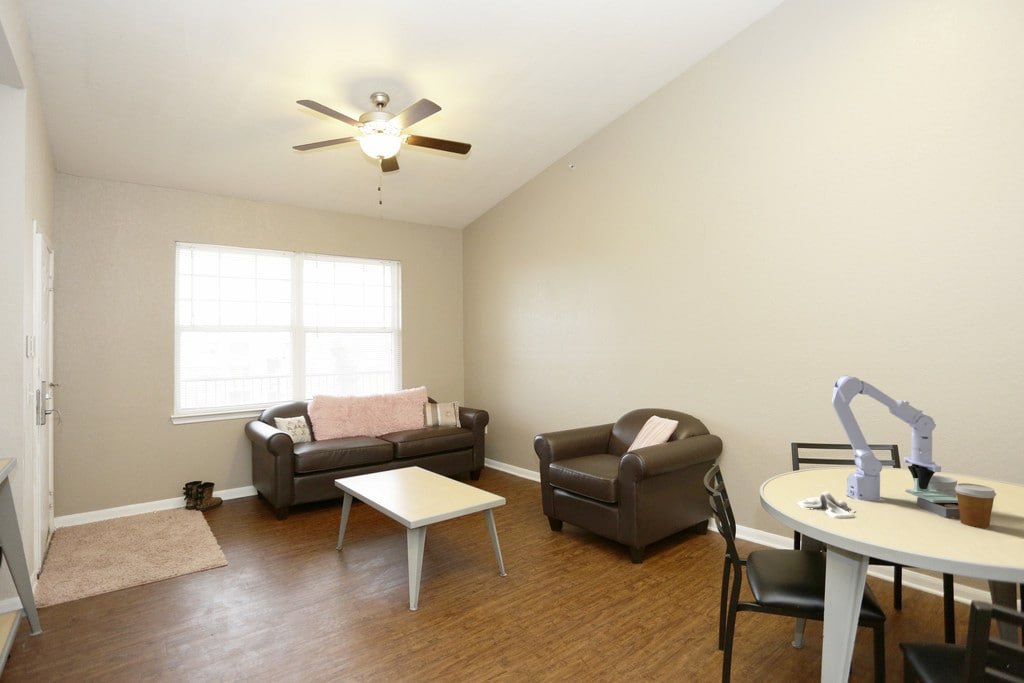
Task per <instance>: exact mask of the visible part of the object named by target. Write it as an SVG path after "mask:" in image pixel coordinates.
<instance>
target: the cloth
mask: <svg viewBox="0 0 1024 683" xmlns="http://www.w3.org/2000/svg"><path fill="white" fill-rule="evenodd" d="M806 500H808V501H806ZM797 504H798V505H799V506H800V507H801V508H813V509H812V510H814V509H827V510H824V513H825V514H826V516H828V515H829V516H831V517H832V518H831V517H830V518H831V519H833V518H837V519H851V518H850V517H856V518H857V516H856V515H855V514H854V513H849V512H855V511H856V510H855V509H851V511H850V510H849V509H848V508H849V507H848V503H847V502H846V501H844V500H836V499H835V498H834V496H833V495H832V494H831V493H830V492H829V491H823V492H822V493H821V494H820V496H819V497H809V498H806V499H805V500H800V501H798V502H797ZM798 505H797V506H798ZM799 506H798V507H799ZM844 509H848V510H844ZM848 511H849V512H848ZM855 513H856V512H855ZM829 516H828V517H829Z"/></svg>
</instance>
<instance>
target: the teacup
mask: <svg viewBox="0 0 1024 683" xmlns="http://www.w3.org/2000/svg"><path fill="white" fill-rule="evenodd" d="M957 484H958V479H957V478H955V477H954V478H953V477H950V476H945V475H940V474H935V475H934V474H933V476H932V477H931V479H930V481H929V490H936V491H939V492H944V493H945V494H947V495H954V497H956V498H957V492H956V490H955V487H956V485H957Z"/></svg>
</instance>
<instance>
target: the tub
mask: <svg viewBox="0 0 1024 683" xmlns="http://www.w3.org/2000/svg"><path fill="white" fill-rule="evenodd" d="M916 497H917V496H916ZM916 503H917V504H916V506H917V507H918V508H921V509H923V510H926V511H928V512H930V513H933V514H935V515H937V516H939V517H943V518H945V519H960V512H959V508H946V507H943V506H940V505H938V504H935V503H933V502H930V501H928V500H925V499H922V498H920V497H917V498H916ZM950 504H954V505H957V506H959V505H958V503H950Z"/></svg>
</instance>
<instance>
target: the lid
mask: <svg viewBox="0 0 1024 683" xmlns="http://www.w3.org/2000/svg"><path fill="white" fill-rule="evenodd" d="M913 484H914V486H913V487H914V489H905V493H907V494H910V495H912V496H915V497H920V498H922V499H925V500H928V501H930V502H933V503H958V498H957V497H954V495H947V494H945V493H944V492H939V491H936V490H929V484H928V487H927V489H920V487H919V480H918V478H914V479H913Z"/></svg>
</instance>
